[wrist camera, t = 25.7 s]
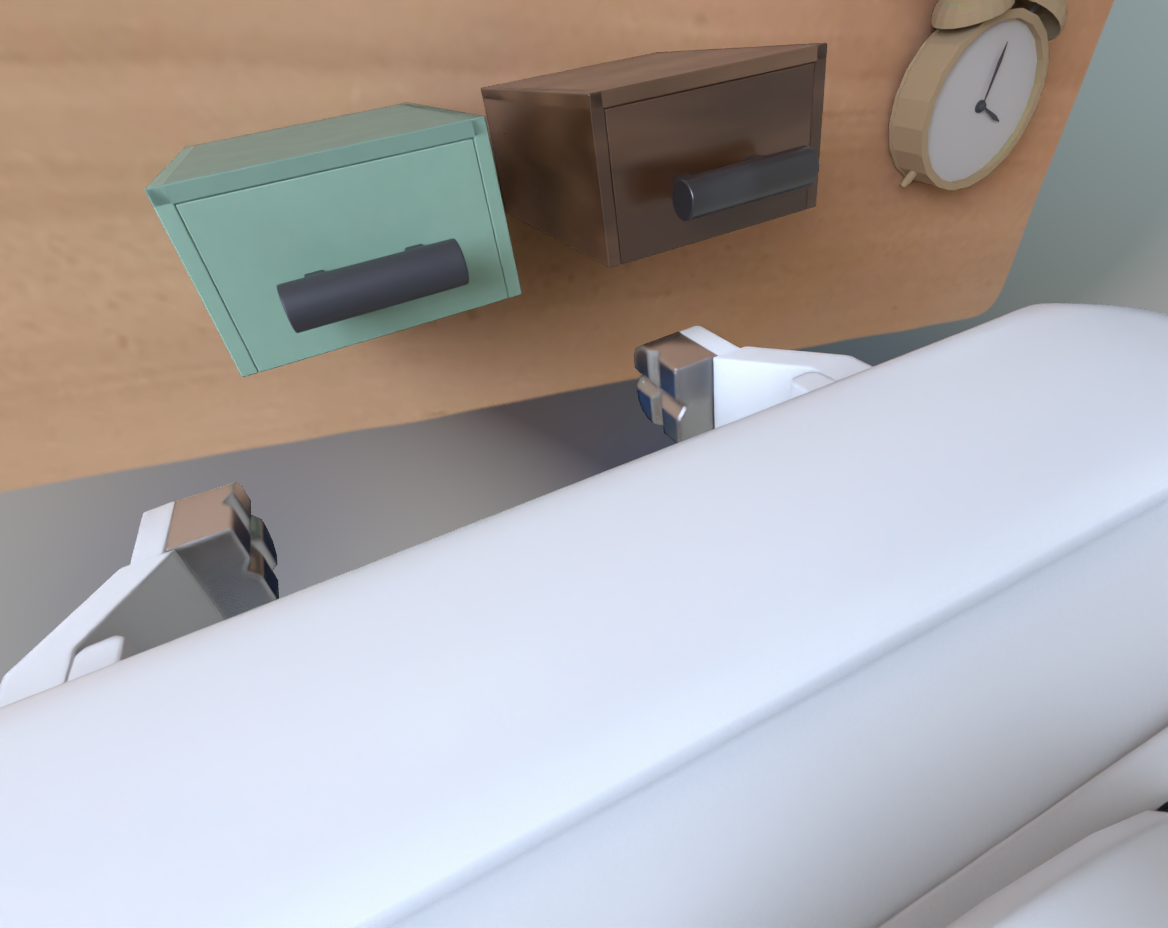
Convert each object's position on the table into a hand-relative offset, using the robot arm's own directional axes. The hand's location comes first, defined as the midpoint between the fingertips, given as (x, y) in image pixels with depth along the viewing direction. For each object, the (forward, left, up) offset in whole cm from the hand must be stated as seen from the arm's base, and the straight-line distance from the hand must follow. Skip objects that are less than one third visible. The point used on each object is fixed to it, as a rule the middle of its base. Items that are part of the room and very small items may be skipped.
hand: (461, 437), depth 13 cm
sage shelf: (-4, 0, -19) cm, 19 cm away
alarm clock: (+1, +45, -27) cm, 53 cm away
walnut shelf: (-4, +15, -19) cm, 24 cm away
